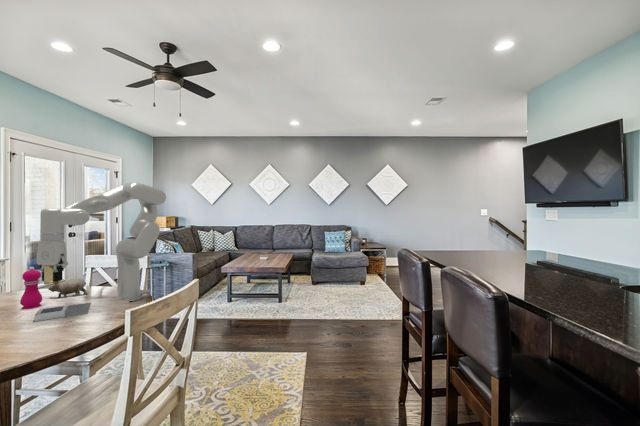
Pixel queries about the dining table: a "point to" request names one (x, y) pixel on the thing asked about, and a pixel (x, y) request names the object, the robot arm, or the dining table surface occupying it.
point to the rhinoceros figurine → (69, 287)
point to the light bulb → (49, 274)
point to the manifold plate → (61, 312)
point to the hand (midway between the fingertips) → (52, 280)
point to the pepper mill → (31, 289)
